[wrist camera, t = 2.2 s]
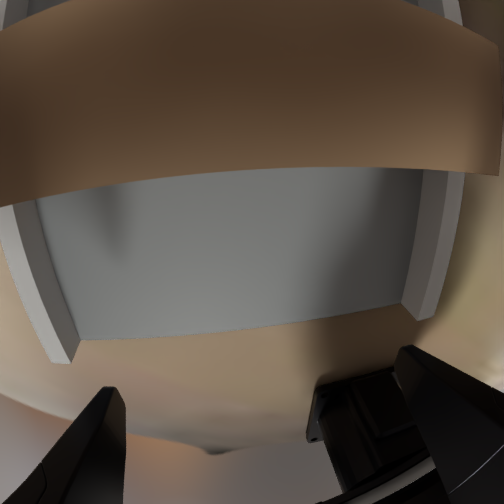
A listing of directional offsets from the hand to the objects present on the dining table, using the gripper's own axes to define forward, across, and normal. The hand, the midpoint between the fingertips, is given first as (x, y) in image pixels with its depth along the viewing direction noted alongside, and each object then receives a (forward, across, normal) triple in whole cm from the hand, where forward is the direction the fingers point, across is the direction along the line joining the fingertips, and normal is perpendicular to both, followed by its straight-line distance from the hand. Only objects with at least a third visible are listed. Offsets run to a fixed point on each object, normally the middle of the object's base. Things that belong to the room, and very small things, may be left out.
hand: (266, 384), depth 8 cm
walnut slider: (+4, 0, -8) cm, 9 cm away
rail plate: (+5, 0, -10) cm, 11 cm away
